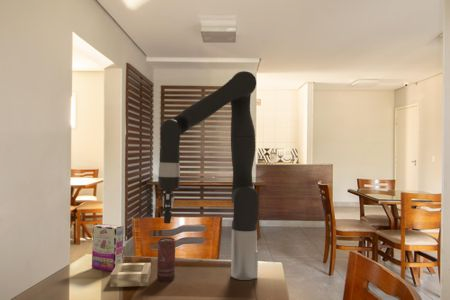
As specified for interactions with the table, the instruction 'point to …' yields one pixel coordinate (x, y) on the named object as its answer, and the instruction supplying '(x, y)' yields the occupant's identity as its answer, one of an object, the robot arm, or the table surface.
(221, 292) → the table surface
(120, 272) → the frame
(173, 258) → the can
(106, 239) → the candy bar box
